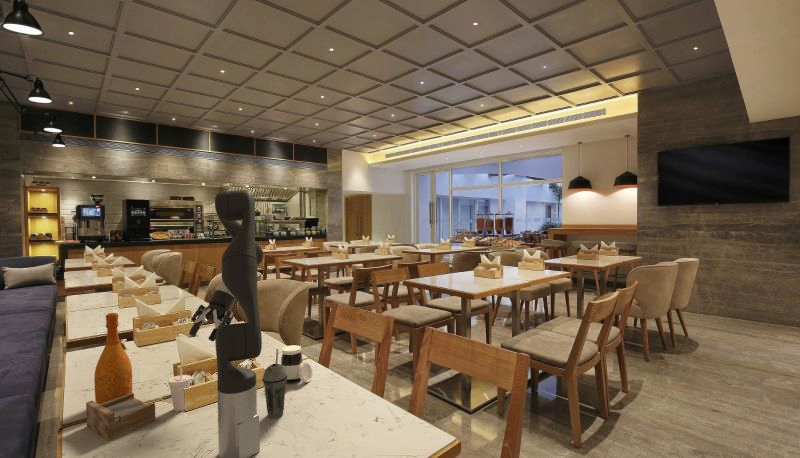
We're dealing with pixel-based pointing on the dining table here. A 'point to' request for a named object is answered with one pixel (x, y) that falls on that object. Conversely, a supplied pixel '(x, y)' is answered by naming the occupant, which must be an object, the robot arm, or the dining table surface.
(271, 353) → the dining table surface
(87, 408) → the brown wooden tray
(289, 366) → the spread jar
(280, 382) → the beverage cup
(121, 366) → the wine bottle
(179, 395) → the smoothie
